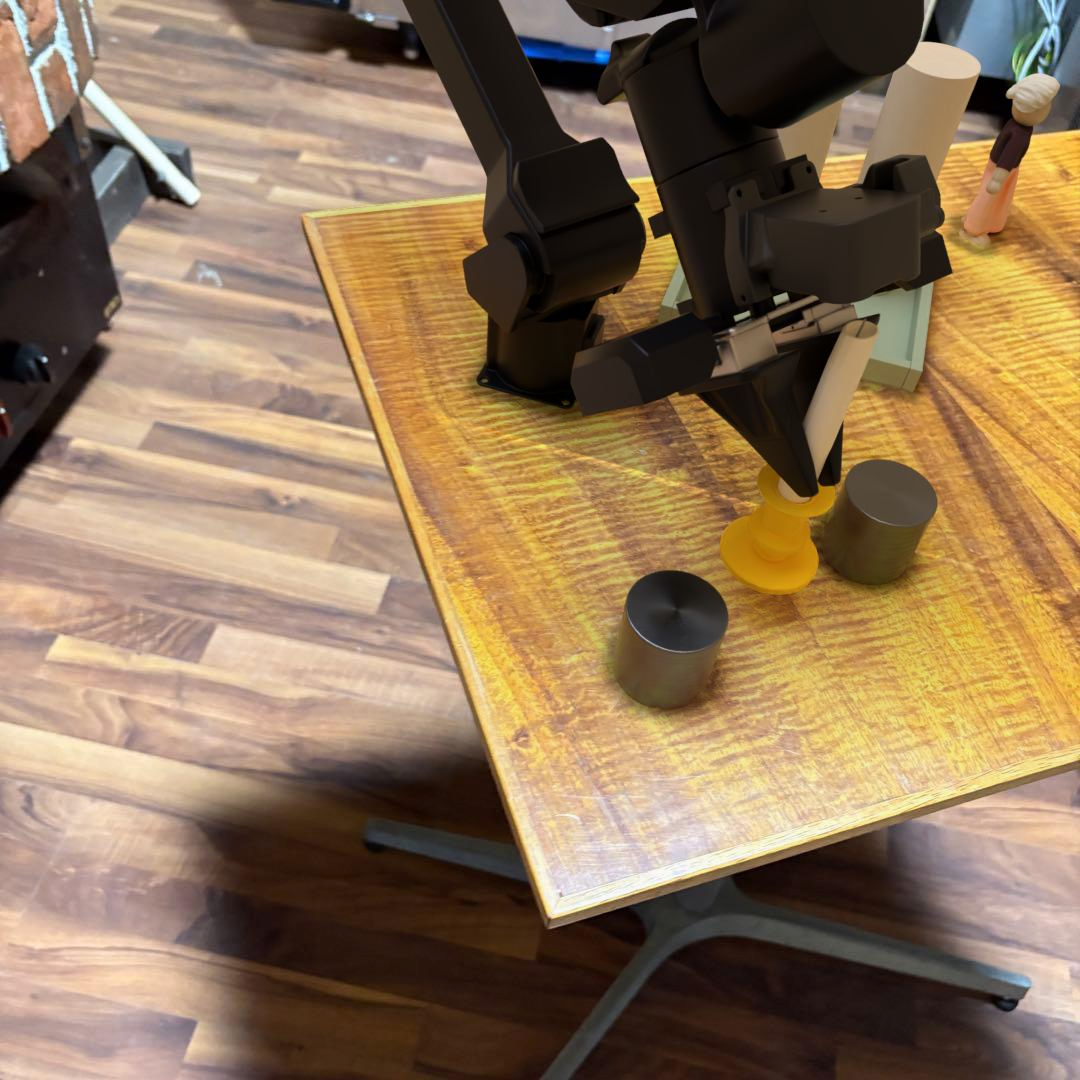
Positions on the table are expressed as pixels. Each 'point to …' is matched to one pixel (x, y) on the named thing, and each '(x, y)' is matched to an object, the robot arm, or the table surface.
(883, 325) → the tray
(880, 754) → the table surface
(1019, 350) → the table surface
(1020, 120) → the grandmother figurine
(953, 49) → the cream candles
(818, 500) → the candle
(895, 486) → the grey tins
